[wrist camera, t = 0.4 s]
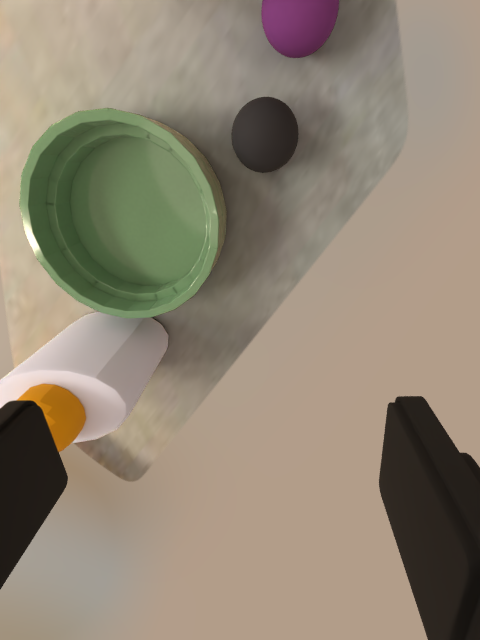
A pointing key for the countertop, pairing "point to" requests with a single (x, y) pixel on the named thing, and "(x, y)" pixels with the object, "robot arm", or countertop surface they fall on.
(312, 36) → the purple ball
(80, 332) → the soap bottle
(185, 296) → the green bowl
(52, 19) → the countertop surface
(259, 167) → the charcoal ball
